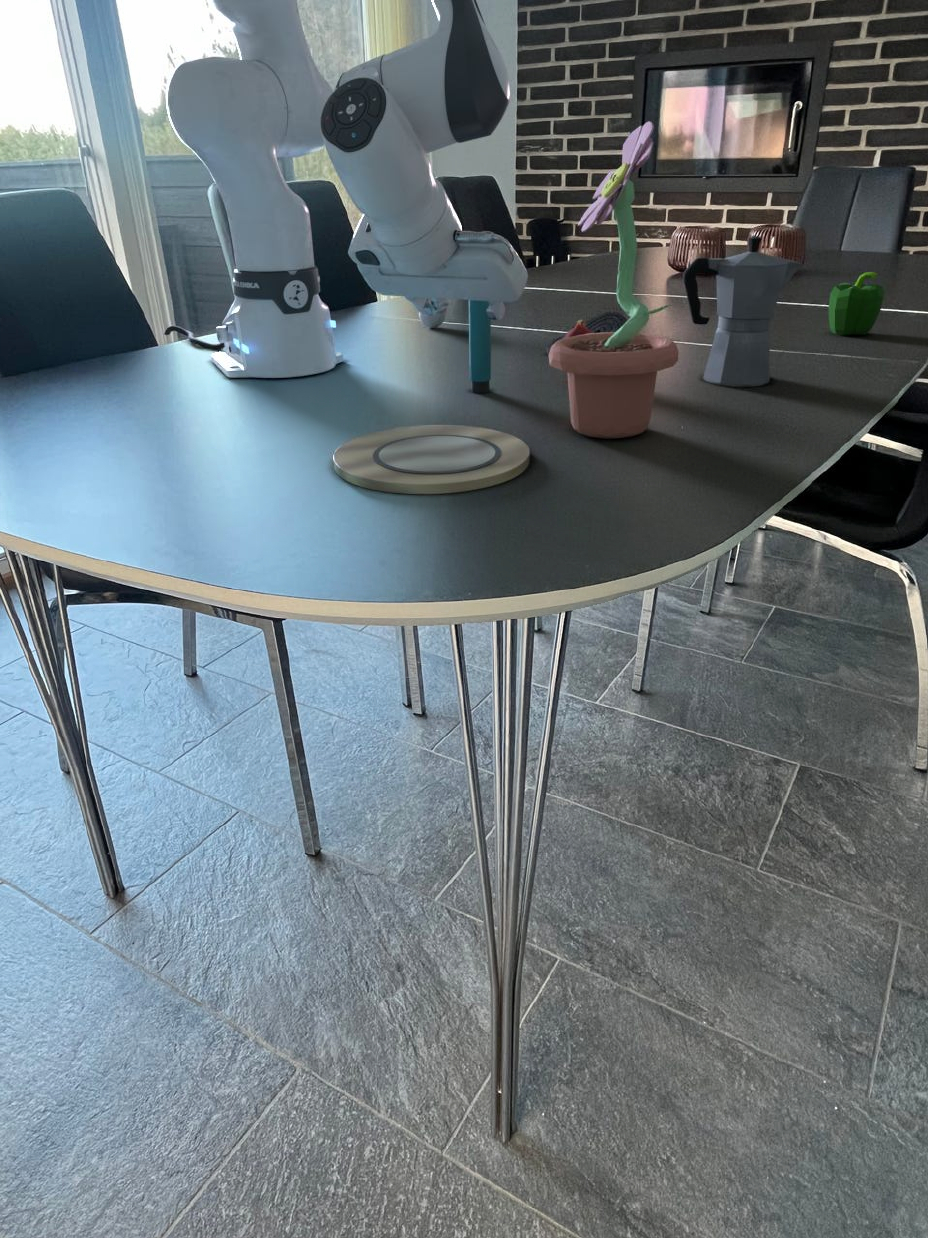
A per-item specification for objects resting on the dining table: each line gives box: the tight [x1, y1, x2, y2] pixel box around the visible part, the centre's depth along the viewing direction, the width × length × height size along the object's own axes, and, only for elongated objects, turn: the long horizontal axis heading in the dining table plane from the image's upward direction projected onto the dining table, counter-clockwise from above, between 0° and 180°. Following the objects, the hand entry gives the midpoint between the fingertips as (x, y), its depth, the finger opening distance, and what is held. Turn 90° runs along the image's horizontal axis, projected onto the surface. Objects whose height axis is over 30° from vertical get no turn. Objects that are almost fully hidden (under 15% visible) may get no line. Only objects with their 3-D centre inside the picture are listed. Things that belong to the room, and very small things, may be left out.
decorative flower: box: [548, 120, 679, 440], centre depth 88 cm, size 15×14×30 cm
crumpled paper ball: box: [411, 298, 450, 329], centre depth 155 cm, size 6×7×7 cm
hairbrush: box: [546, 307, 628, 356], centre depth 140 cm, size 8×4×25 cm
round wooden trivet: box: [332, 424, 531, 495], centre depth 85 cm, size 20×20×1 cm
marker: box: [468, 300, 492, 394], centre depth 109 cm, size 3×3×12 cm
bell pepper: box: [828, 271, 885, 337], centre depth 141 cm, size 8×8×10 cm
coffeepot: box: [682, 235, 803, 388], centre depth 111 cm, size 15×9×18 cm, turn 92°
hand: (464, 312), depth 104 cm, fingers open, 8 cm apart
